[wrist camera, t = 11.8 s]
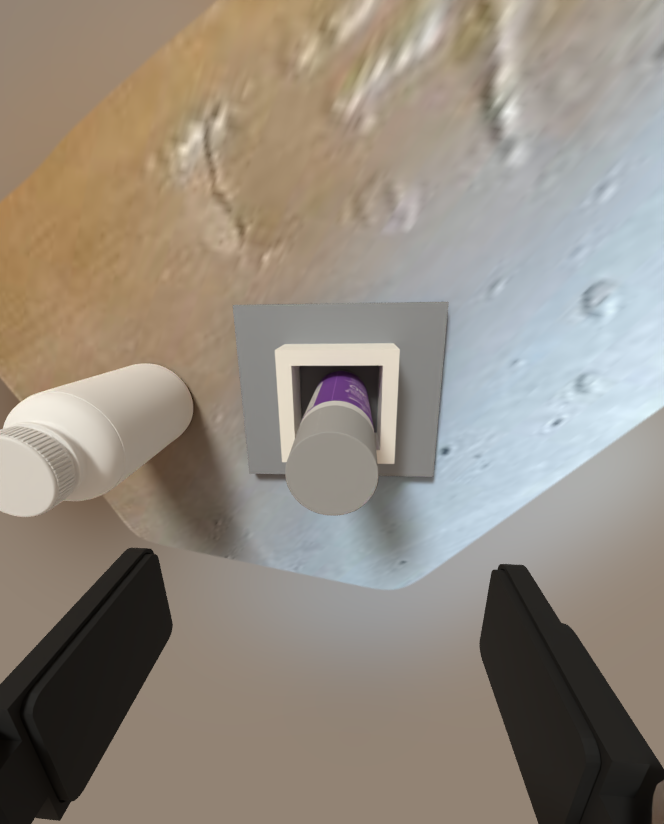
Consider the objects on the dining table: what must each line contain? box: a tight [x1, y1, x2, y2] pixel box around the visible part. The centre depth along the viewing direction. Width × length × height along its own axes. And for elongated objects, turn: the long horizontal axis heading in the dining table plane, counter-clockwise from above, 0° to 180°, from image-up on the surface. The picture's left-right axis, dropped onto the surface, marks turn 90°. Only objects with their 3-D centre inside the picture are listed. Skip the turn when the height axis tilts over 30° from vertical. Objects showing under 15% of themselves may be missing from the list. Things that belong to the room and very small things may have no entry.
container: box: [285, 370, 379, 515], centre depth 23 cm, size 5×5×15 cm
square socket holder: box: [233, 302, 448, 477], centre depth 29 cm, size 18×16×5 cm
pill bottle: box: [0, 364, 193, 517], centre depth 26 cm, size 8×8×15 cm
